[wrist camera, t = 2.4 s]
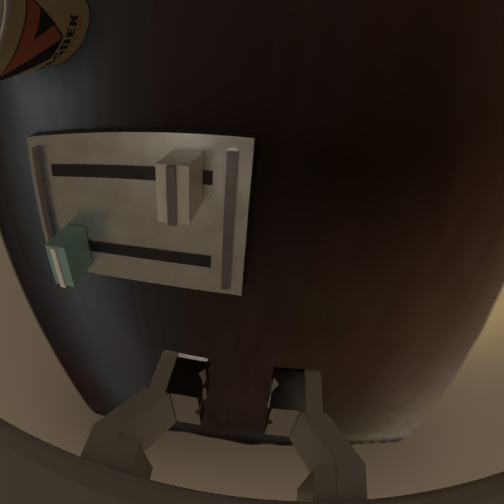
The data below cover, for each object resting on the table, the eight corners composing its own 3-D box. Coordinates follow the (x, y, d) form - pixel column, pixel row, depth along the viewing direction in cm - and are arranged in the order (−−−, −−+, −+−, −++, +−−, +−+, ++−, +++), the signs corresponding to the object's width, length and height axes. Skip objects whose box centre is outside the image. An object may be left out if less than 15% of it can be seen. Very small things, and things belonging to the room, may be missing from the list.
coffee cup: (60, 91, 23) (-38, 122, 13) (11, 46, 20) (-80, 64, 10) (117, 8, 19) (19, -7, 9) (59, -31, 16) (-34, -45, 6)
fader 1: (85, 226, 29) (61, 250, 25) (92, 263, 31) (72, 289, 27) (66, 224, 29) (42, 247, 25) (74, 260, 31) (54, 285, 28)
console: (256, 134, 25) (253, 139, 23) (243, 285, 33) (240, 299, 31) (36, 132, 25) (23, 138, 24) (59, 257, 34) (49, 268, 32)
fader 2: (203, 150, 24) (187, 168, 20) (202, 202, 26) (187, 227, 23) (173, 148, 24) (153, 165, 20) (174, 199, 26) (155, 224, 23)
